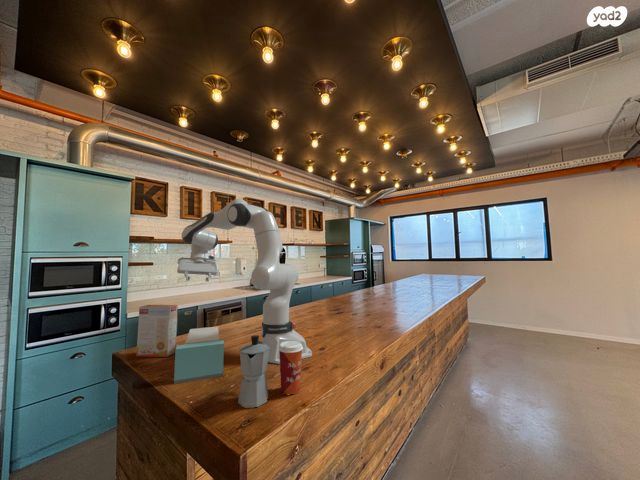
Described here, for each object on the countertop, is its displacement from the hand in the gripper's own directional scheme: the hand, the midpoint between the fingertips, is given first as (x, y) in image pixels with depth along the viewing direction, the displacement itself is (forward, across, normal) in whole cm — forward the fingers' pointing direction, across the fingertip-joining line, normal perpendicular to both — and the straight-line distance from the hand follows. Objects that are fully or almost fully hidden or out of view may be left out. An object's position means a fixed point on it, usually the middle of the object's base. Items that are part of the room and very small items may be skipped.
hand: (197, 280), depth 133 cm
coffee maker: (+64, +10, -47) cm, 80 cm away
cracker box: (+36, -14, +3) cm, 38 cm away
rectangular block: (+43, +2, -12) cm, 45 cm away
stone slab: (+36, +2, -11) cm, 38 cm away
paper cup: (+64, +21, -49) cm, 83 cm away
